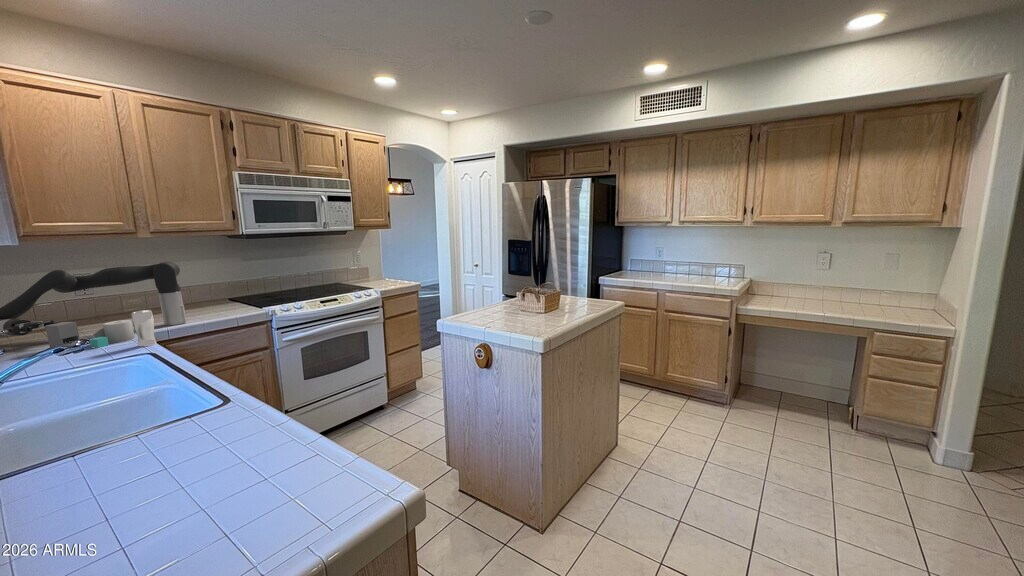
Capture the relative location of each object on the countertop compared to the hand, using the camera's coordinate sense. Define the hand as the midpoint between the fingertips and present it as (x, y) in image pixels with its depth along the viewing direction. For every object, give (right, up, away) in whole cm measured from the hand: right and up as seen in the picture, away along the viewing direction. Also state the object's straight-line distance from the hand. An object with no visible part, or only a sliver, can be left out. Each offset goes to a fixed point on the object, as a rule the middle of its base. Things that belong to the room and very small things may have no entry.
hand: (43, 326), depth 181 cm
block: (+25, -9, 0) cm, 27 cm away
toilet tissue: (+24, -8, +9) cm, 26 cm away
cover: (+11, -9, -1) cm, 14 cm away
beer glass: (+46, -8, 0) cm, 47 cm away
